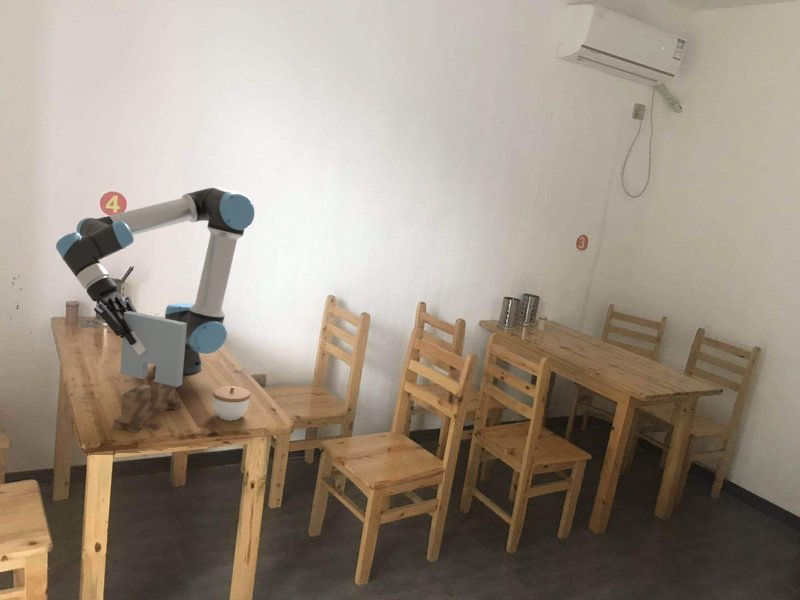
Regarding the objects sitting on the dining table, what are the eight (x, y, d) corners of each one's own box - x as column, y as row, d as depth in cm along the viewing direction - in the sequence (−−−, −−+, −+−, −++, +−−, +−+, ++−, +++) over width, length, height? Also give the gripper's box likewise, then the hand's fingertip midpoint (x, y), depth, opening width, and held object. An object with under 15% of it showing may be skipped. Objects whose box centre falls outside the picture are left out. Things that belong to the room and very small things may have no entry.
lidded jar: (233, 407, 201) (236, 378, 200) (255, 419, 195) (258, 389, 193) (203, 414, 193) (206, 384, 191) (225, 426, 187) (228, 396, 185)
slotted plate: (120, 373, 185) (123, 312, 181) (125, 371, 187) (129, 311, 184) (177, 387, 181) (182, 324, 178) (181, 384, 184) (186, 323, 180)
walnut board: (160, 401, 198) (162, 370, 196) (180, 406, 196) (183, 375, 194) (113, 426, 176) (115, 392, 174) (135, 432, 175) (138, 397, 173)
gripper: (107, 286, 192) (153, 351, 192) (69, 295, 177) (119, 365, 177) (124, 272, 189) (171, 338, 189) (87, 279, 174) (138, 350, 174)
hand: (146, 351), depth 183 cm, fingers closed on slotted plate, 2 cm apart
